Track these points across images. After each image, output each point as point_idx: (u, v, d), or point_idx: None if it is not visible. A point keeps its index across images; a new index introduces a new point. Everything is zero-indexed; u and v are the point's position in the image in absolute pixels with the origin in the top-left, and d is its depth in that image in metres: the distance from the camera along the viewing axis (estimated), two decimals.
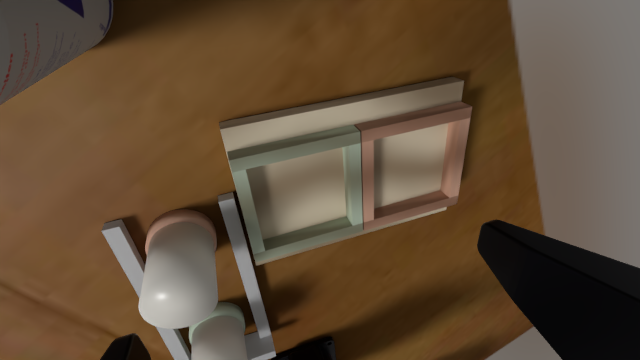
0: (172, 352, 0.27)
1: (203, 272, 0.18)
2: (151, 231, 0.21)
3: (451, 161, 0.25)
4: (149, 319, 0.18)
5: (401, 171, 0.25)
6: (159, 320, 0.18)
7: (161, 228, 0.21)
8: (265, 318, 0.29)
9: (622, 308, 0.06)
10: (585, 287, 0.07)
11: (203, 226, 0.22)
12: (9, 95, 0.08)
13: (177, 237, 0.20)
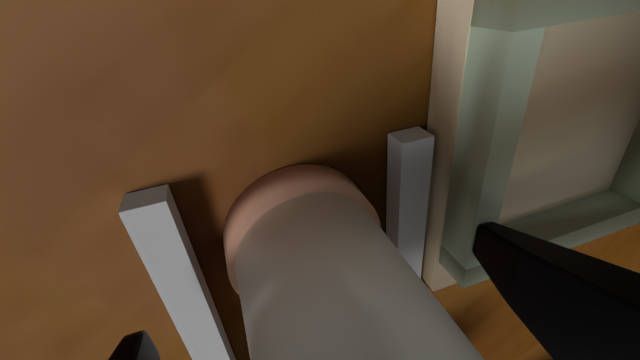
0: None
1: (472, 346, 0.06)
2: (246, 216, 0.08)
3: None
4: None
5: None
6: None
7: (272, 209, 0.08)
8: None
9: (614, 311, 0.06)
10: (578, 289, 0.07)
11: (364, 205, 0.09)
12: None
13: (336, 230, 0.07)
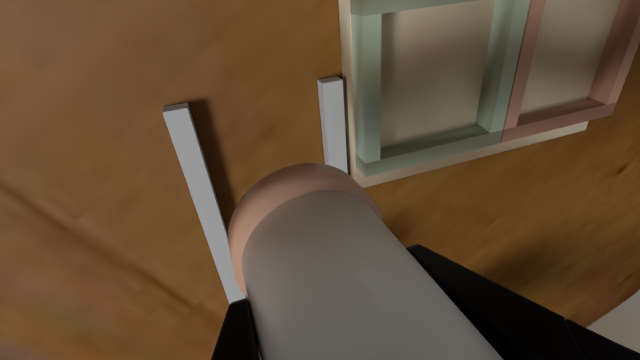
0: None
1: (481, 335, 0.06)
2: (253, 213, 0.08)
3: (620, 48, 0.18)
4: None
5: (551, 62, 0.18)
6: None
7: (279, 206, 0.08)
8: None
9: (516, 353, 0.06)
10: (488, 325, 0.06)
11: (368, 203, 0.09)
12: None
13: (345, 226, 0.07)
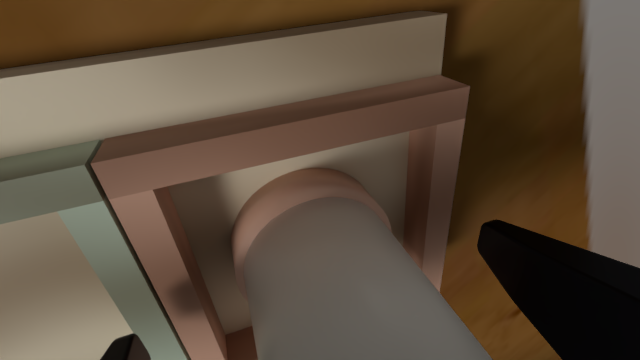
0: None
1: None
2: (256, 219, 0.08)
3: (419, 225, 0.10)
4: None
5: None
6: None
7: (283, 213, 0.08)
8: None
9: (622, 308, 0.06)
10: (585, 286, 0.07)
11: (376, 211, 0.09)
12: None
13: (350, 236, 0.07)
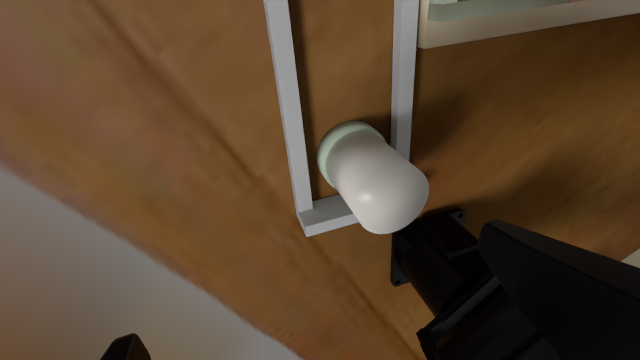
0: (296, 185, 0.21)
1: None
2: None
3: None
4: None
5: None
6: None
7: None
8: (408, 153, 0.22)
9: (622, 308, 0.06)
10: (585, 286, 0.07)
11: None
12: None
13: None
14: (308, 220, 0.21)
